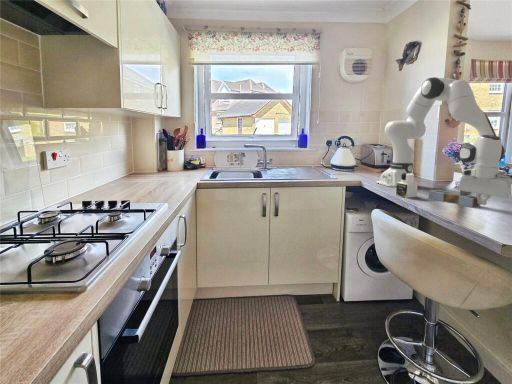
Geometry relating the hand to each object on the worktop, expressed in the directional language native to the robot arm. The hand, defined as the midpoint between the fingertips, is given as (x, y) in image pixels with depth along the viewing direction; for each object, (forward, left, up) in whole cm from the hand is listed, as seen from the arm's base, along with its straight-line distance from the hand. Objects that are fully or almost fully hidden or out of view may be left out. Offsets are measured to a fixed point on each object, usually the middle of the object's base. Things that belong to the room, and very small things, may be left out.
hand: (481, 204), depth 147 cm
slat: (-11, 0, -2) cm, 11 cm away
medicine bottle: (-33, -8, -2) cm, 34 cm away
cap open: (-5, 0, -2) cm, 6 cm away
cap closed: (-19, 0, -2) cm, 19 cm away
